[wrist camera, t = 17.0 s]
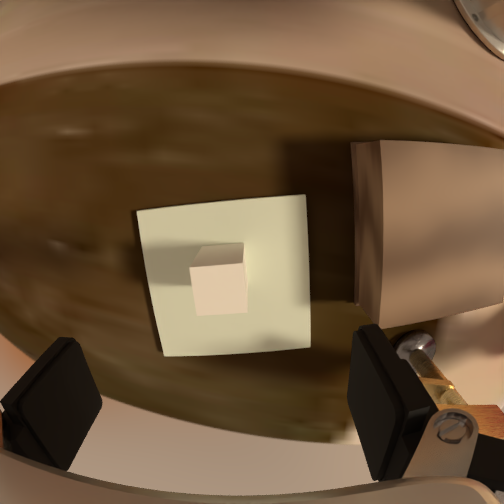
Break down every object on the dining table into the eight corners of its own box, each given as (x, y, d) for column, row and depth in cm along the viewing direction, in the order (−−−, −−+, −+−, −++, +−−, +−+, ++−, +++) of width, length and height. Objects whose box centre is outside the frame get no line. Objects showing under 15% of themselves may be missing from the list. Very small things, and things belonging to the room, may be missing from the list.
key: (342, 353, 24) (395, 470, 12) (352, 332, 24) (416, 446, 12) (440, 370, 25) (505, 453, 13) (450, 353, 25) (522, 433, 13)
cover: (142, 209, 23) (108, 223, 17) (302, 193, 23) (321, 202, 17) (167, 348, 26) (149, 393, 20) (308, 339, 26) (322, 384, 20)
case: (350, 142, 21) (376, 136, 16) (476, 148, 21) (514, 148, 16) (353, 302, 24) (375, 332, 19) (471, 284, 24) (503, 304, 19)
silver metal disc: (393, 334, 25) (398, 339, 24) (434, 325, 25) (439, 330, 24) (388, 373, 26) (391, 379, 25) (426, 364, 26) (431, 369, 25)
